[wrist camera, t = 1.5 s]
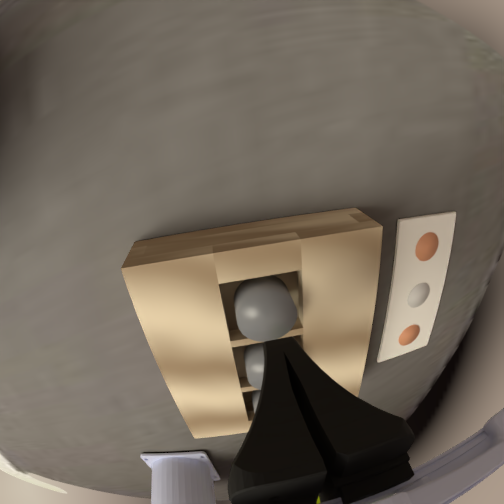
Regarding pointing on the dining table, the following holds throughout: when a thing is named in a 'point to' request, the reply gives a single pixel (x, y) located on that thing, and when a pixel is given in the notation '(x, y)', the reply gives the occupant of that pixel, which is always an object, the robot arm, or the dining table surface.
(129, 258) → the button board
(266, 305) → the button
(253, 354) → the middle button
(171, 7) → the dining table surface
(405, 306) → the card
